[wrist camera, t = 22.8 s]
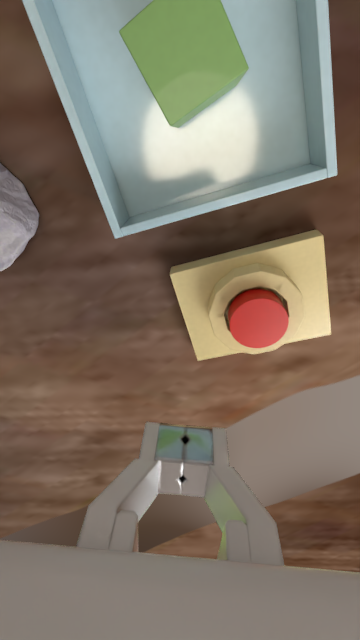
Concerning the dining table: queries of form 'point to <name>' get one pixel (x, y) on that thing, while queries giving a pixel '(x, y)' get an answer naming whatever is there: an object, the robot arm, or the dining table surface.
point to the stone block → (14, 218)
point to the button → (257, 318)
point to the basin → (204, 128)
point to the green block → (185, 54)
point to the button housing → (255, 273)
